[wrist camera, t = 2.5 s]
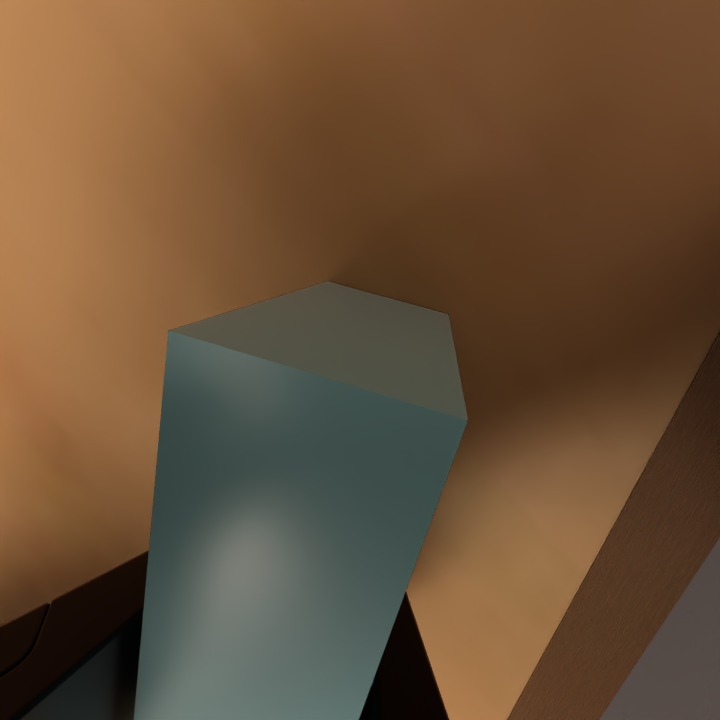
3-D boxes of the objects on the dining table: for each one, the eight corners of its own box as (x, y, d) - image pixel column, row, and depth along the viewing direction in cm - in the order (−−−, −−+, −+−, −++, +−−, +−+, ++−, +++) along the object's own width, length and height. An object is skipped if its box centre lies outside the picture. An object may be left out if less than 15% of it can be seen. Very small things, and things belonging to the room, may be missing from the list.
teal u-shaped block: (347, 631, 12) (273, 952, 7) (260, 599, 13) (119, 879, 7) (448, 314, 9) (468, 419, 4) (327, 281, 10) (168, 330, 4)
